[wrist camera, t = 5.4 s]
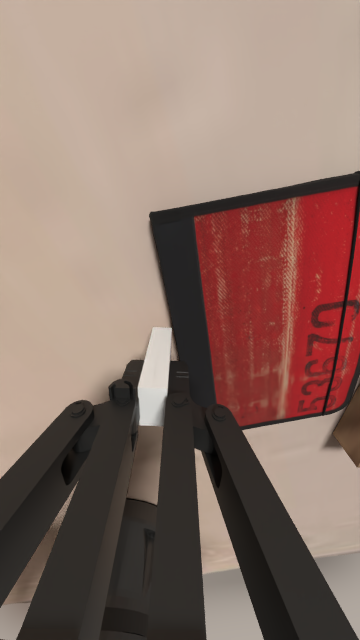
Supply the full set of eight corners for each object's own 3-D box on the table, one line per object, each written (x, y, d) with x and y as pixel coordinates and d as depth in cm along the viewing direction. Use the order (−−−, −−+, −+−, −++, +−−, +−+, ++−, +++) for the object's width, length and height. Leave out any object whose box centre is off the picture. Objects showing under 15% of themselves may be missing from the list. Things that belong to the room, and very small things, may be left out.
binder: (195, 442, 21) (145, 211, 12) (192, 422, 23) (149, 213, 14) (355, 417, 20) (424, 157, 12) (338, 399, 23) (385, 167, 14)
